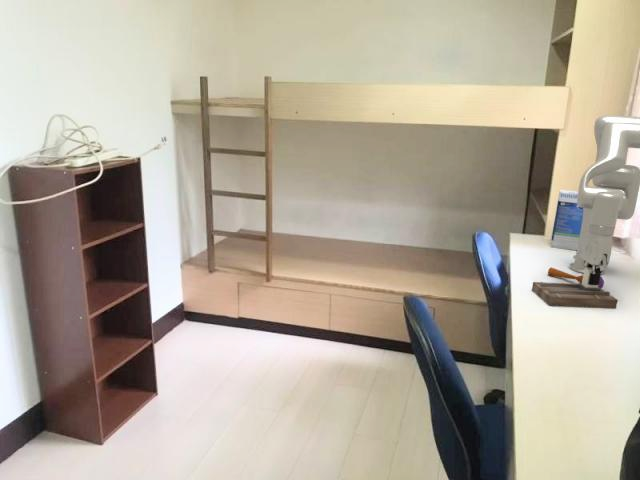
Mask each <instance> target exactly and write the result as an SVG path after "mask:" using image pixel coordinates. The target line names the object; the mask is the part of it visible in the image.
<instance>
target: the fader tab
mask: <svg viewBox="0 0 640 480" xmlns="http://www.w3.org/2000/svg"><path fill="white" fill-rule="evenodd" d="M596 269H597V268H596ZM590 273H592V268H587V267H585V269H584V273H582V275H583V279H582V283H579V282H578V283H579V286H578V288H579V289H581V290H583V291H600V288H599V287H598V285H589V284H588V283H589V278H590Z"/></svg>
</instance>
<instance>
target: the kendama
mask: <svg viewBox="0 0 640 480" xmlns="http://www.w3.org/2000/svg"><path fill="white" fill-rule="evenodd" d="M547 275H548V276H550V277H556V278H561V279H562V278H563V279H569V280H576V281H577V282H578V283H582V279H583V274H582V275H577V276H576V275H573V274H570V273H568V272H565V271H564V270H563V271H562V270H559V269H557V268H554V267H549V268H548V270H547ZM604 285H605V281H604V279H603V277H602V276H601V275H600V280H599V288H601V289H603V287H604Z"/></svg>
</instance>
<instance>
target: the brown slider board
mask: <svg viewBox="0 0 640 480" xmlns="http://www.w3.org/2000/svg"><path fill="white" fill-rule="evenodd" d="M578 286H579V282H578V283H569V282H567V283H566V282H565V283H563V282H545V281H537V282H536V281H533V282H532V287H531V291H532V292H533V293H534V294H535V295H536V296H538V297H539V298H540V299H541V300H542V301H543V302H544V303H545V304H547V305H548V306H549V307H567V308H570V307H571V308H590V309H591V308H592V309H594V308H595V309H617V306H618V301H619V300H618V299H617V298H615V297H614V296H612V295H611V292H610V291H605V290H604V289H603V288H600V291H583V290H581V289H579V288H578ZM598 287H599V285H598Z"/></svg>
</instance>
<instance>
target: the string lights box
mask: <svg viewBox="0 0 640 480" xmlns="http://www.w3.org/2000/svg"><path fill="white" fill-rule="evenodd" d="M577 195H578V190H568V189H559V194H558V198H557V204H556V209H555V217H554V222H553V227H552V234H551V239H550V245H549V246H550V248H554V249H555V248H556V249H561V248H562V249H563V250H568V249H571V250H570V251H575V250H577V246H578V241H579V236H580V231H581V226H582V219H583V208H582V207H580V206H579V205H578V203H577ZM562 249H561V250H562Z"/></svg>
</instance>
